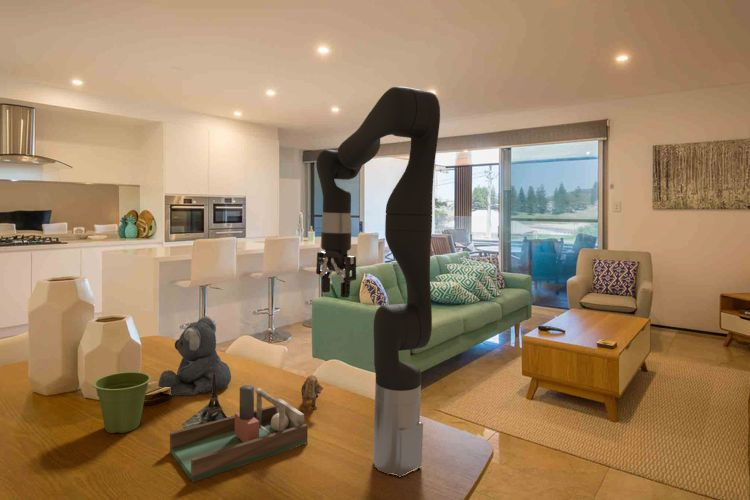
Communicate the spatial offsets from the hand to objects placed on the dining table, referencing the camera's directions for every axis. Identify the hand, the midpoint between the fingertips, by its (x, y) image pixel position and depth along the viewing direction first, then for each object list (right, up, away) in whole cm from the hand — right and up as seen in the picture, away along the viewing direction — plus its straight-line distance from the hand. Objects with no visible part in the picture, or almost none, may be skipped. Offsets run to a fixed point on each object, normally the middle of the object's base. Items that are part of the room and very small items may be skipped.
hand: (335, 294), depth 122 cm
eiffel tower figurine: (-30, -30, -4) cm, 43 cm away
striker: (-18, -30, -18) cm, 39 cm away
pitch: (-19, -31, -19) cm, 41 cm away
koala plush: (-40, -28, +15) cm, 51 cm away
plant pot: (-48, -30, -11) cm, 58 cm away
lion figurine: (-7, -30, +5) cm, 31 cm away
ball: (-12, -28, -13) cm, 33 cm away
